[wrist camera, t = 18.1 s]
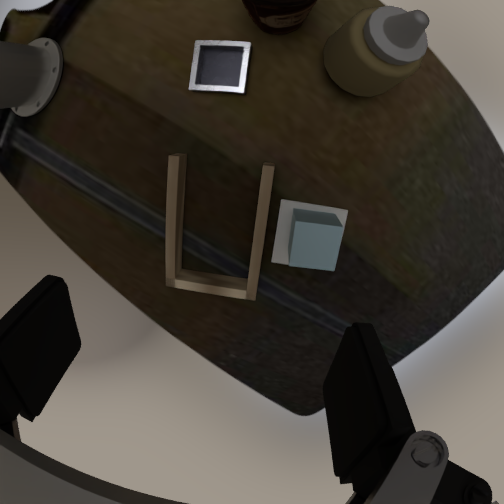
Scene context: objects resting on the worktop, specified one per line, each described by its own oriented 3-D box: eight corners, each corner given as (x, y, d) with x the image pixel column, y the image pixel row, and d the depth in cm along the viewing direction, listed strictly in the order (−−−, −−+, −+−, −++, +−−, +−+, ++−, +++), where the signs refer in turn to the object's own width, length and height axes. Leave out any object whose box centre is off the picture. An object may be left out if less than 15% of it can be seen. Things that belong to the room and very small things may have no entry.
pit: (193, 91, 30) (188, 89, 28) (200, 44, 28) (195, 40, 26) (245, 94, 30) (243, 92, 28) (252, 46, 27) (250, 42, 26)
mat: (271, 261, 37) (271, 262, 37) (281, 198, 34) (281, 199, 34) (333, 269, 37) (333, 271, 37) (347, 209, 34) (348, 210, 34)
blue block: (287, 247, 36) (288, 265, 32) (293, 208, 34) (295, 221, 30) (327, 252, 36) (334, 270, 31) (335, 213, 34) (343, 227, 29)
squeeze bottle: (313, 90, 29) (350, 51, 12) (323, 29, 26) (360, -50, 9) (381, 108, 29) (470, 99, 12) (389, 48, 26) (472, -1, 9)
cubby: (173, 275, 40) (166, 285, 37) (177, 153, 33) (168, 155, 30) (256, 288, 39) (255, 300, 36) (274, 163, 33) (274, 166, 30)
